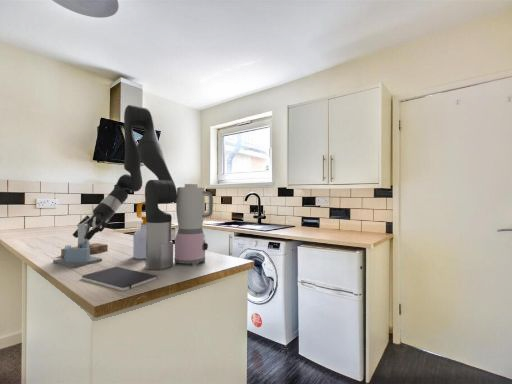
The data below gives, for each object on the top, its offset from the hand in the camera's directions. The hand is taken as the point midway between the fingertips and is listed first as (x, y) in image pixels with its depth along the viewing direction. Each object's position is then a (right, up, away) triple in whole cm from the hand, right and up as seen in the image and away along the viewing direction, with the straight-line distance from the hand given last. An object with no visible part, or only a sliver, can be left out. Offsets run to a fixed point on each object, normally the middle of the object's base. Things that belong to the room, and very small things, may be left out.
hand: (80, 237), depth 108 cm
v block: (-1, -10, -2) cm, 10 cm away
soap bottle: (+22, -10, +9) cm, 26 cm away
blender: (+46, -10, 0) cm, 47 cm away
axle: (0, -9, +1) cm, 9 cm away
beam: (-7, -10, +14) cm, 18 cm away
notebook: (+26, -11, -21) cm, 35 cm away
